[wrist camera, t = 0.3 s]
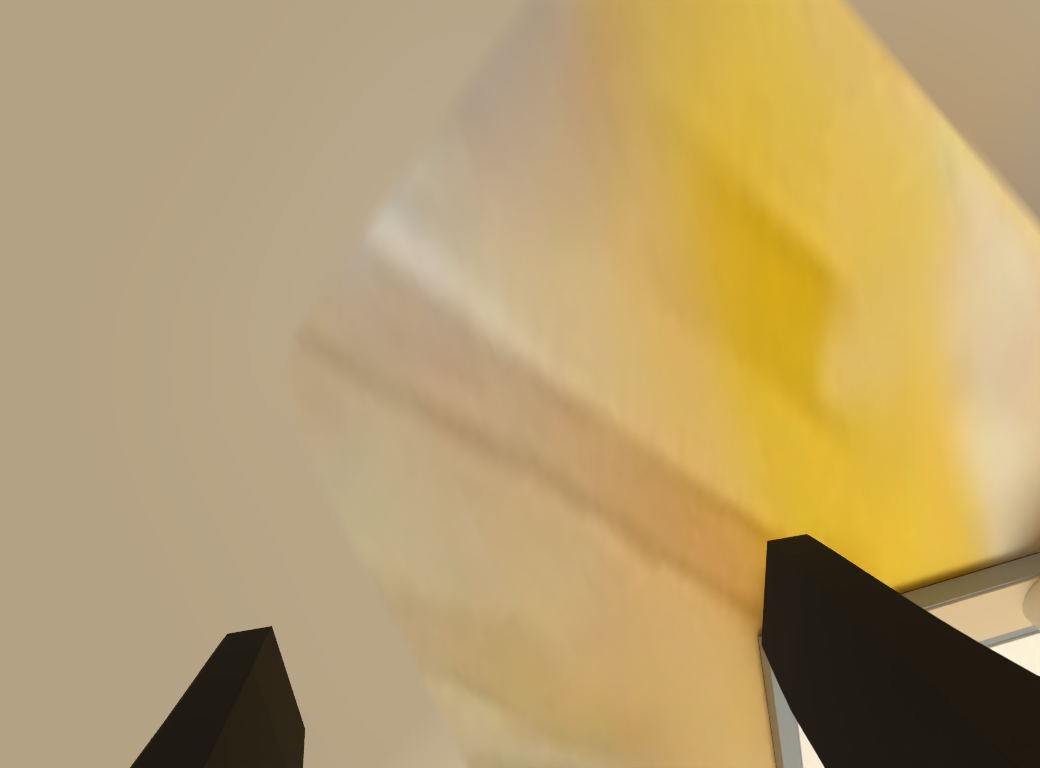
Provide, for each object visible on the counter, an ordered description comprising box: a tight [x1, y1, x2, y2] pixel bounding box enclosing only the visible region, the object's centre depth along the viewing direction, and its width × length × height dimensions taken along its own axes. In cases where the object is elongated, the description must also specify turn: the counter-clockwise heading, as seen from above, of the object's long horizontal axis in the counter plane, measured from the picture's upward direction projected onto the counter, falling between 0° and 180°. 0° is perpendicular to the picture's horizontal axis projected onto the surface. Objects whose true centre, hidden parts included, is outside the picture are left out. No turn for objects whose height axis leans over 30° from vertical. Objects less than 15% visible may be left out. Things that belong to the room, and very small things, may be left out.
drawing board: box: [758, 553, 1040, 768], centre depth 27 cm, size 9×12×1 cm
